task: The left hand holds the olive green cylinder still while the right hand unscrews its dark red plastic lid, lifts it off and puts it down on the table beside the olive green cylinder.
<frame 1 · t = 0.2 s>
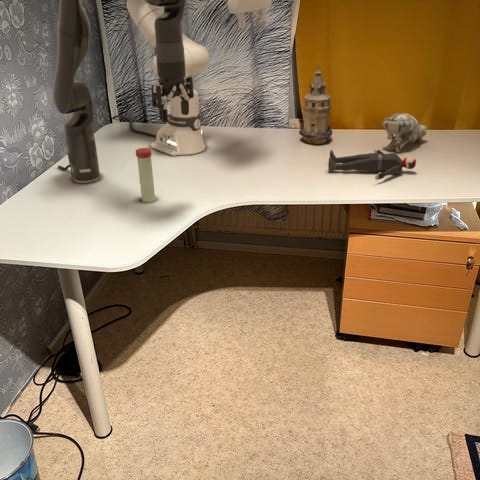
left hand: (174, 118, 151), 29 cm above the table, tool pointing down, fingers open, 8 cm apart
right hand: (250, 25, 175), 48 cm above the table, tool pointing down, fingers open, 8 cm apart
toy: (370, 170, 191), on the table
figurine: (403, 147, 212), on the table
lid: (143, 151, 165), point 16 cm above the table, screwed on, not yet turned
olive green cylinder: (148, 199, 173), on the table
miniature building: (315, 140, 221), on the table
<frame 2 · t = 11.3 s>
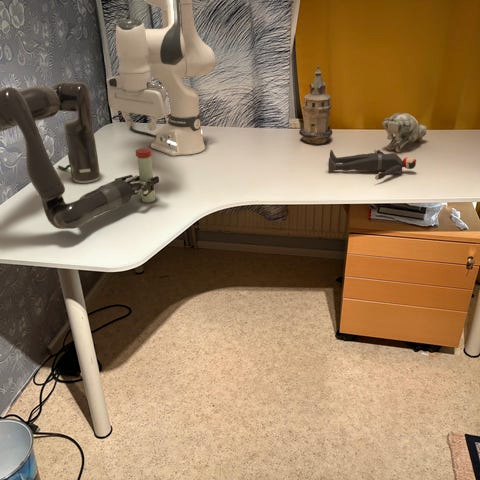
left hand: (152, 177, 171), 7 cm above the table, tool horizontal, fingers closed on olive green cylinder, 4 cm apart
right hand: (140, 127, 161), 24 cm above the table, tool pointing down, fingers open, 7 cm apart
olive green cylinder: (148, 199, 173), on the table, touching left hand
everything else where it was.
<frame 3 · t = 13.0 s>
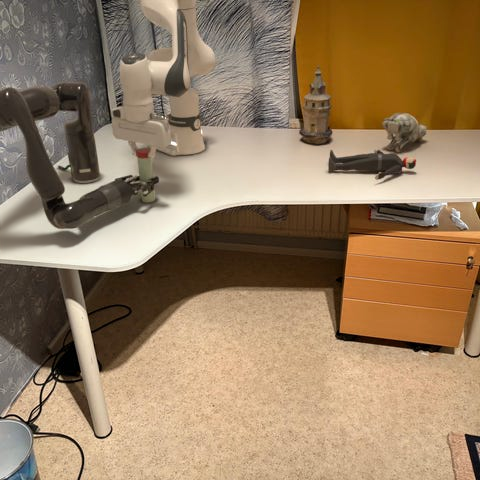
left hand: (152, 177, 171), 7 cm above the table, tool horizontal, fingers closed on olive green cylinder, 4 cm apart
right hand: (143, 156, 165), 15 cm above the table, tool pointing down, fingers closed on lid, 5 cm apart
lid: (143, 151, 165), point 16 cm above the table, screwed on, not yet turned, touching right hand
olive green cylinder: (148, 199, 173), on the table, touching left hand
everything else where it was.
when the right hand's fingers open (15 cm above the table, at t = 14.3 s): lid stays where it is, point 16 cm above the table.
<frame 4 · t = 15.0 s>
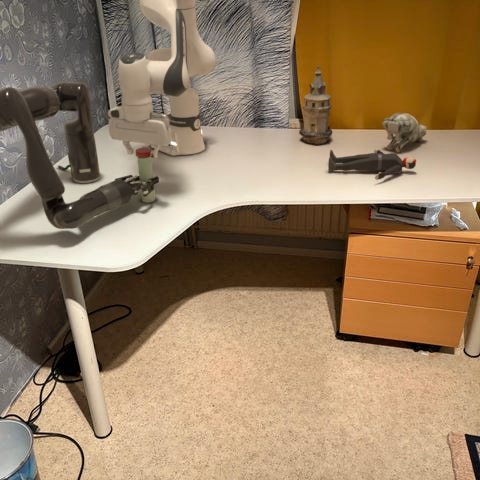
left hand: (152, 177, 171), 7 cm above the table, tool horizontal, fingers closed on olive green cylinder, 4 cm apart
right hand: (142, 155, 165), 15 cm above the table, tool pointing down, fingers open, 7 cm apart
lid: (143, 151, 164), point 16 cm above the table, turned 61° so far, risen 0.1 cm, still on its thread
olive green cylinder: (148, 199, 173), on the table, touching left hand
everything else where it was.
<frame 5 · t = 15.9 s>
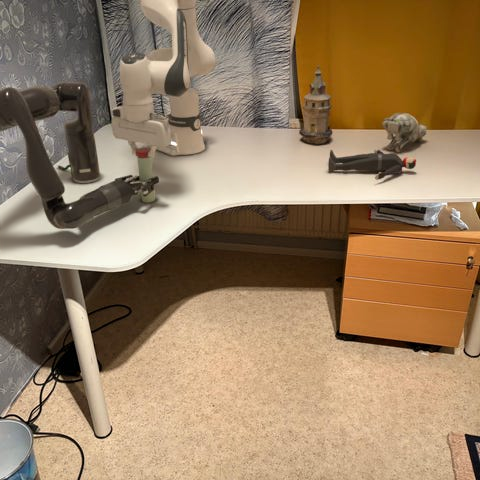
left hand: (152, 177, 171), 7 cm above the table, tool horizontal, fingers closed on olive green cylinder, 4 cm apart
right hand: (143, 155, 165), 15 cm above the table, tool pointing down, fingers closed on lid, 5 cm apart
lid: (143, 151, 164), point 16 cm above the table, turned 61° so far, risen 0.1 cm, still on its thread, touching right hand
olive green cylinder: (148, 199, 173), on the table, touching left hand
everything else where it was.
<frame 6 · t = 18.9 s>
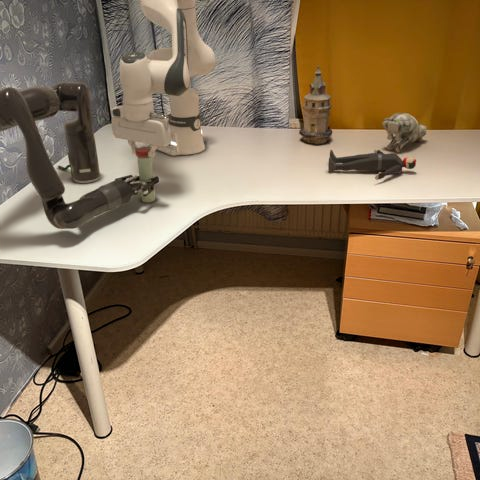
left hand: (152, 177, 171), 7 cm above the table, tool horizontal, fingers closed on olive green cylinder, 4 cm apart
right hand: (143, 155, 165), 15 cm above the table, tool pointing down, fingers closed on lid, 5 cm apart
lid: (143, 150, 164), point 17 cm above the table, turned 123° so far, risen 0.3 cm, still on its thread, touching right hand
olive green cylinder: (148, 199, 173), on the table, touching left hand
everything else where it was.
when the right hand's fingers open (2 cm above the table, at t = 25.4 s): lid drops 2 cm, point 1 cm above the table.
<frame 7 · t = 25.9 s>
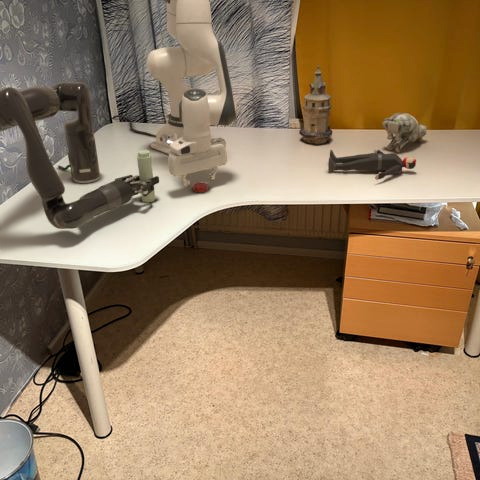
left hand: (152, 177, 171), 7 cm above the table, tool horizontal, fingers closed on olive green cylinder, 4 cm apart
right hand: (199, 182, 178), 2 cm above the table, tool pointing down, fingers open, 8 cm apart
lid: (200, 186, 178), point 1 cm above the table, off its thread
olive green cylinder: (148, 199, 173), on the table, touching left hand
everything else where it was.
when the left hand's fingers open (7 cm above the table, at t = 26.4 s): olive green cylinder stays where it is, on the table.
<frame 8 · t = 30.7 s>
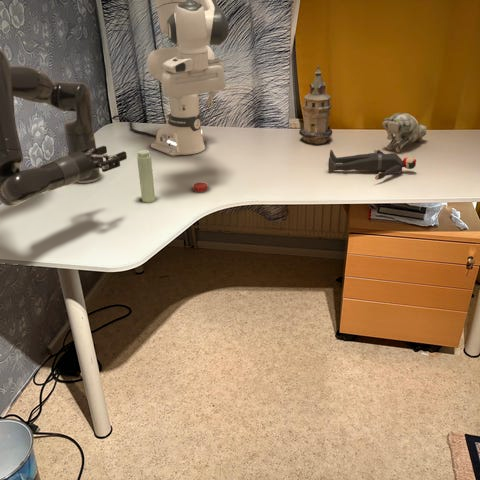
left hand: (115, 151, 156), 19 cm above the table, tool horizontal, fingers open, 8 cm apart
right hand: (195, 108, 166), 27 cm above the table, tool pointing down, fingers open, 8 cm apart
olive green cylinder: (148, 199, 173), on the table
everything else where it was.
at the end: lid came off its thread; lid point 1.2 cm above the table; the left hand is holding nothing; the right hand is holding nothing; olive green cylinder tilted 0°; olive green cylinder moved 0.0 cm from its start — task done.
